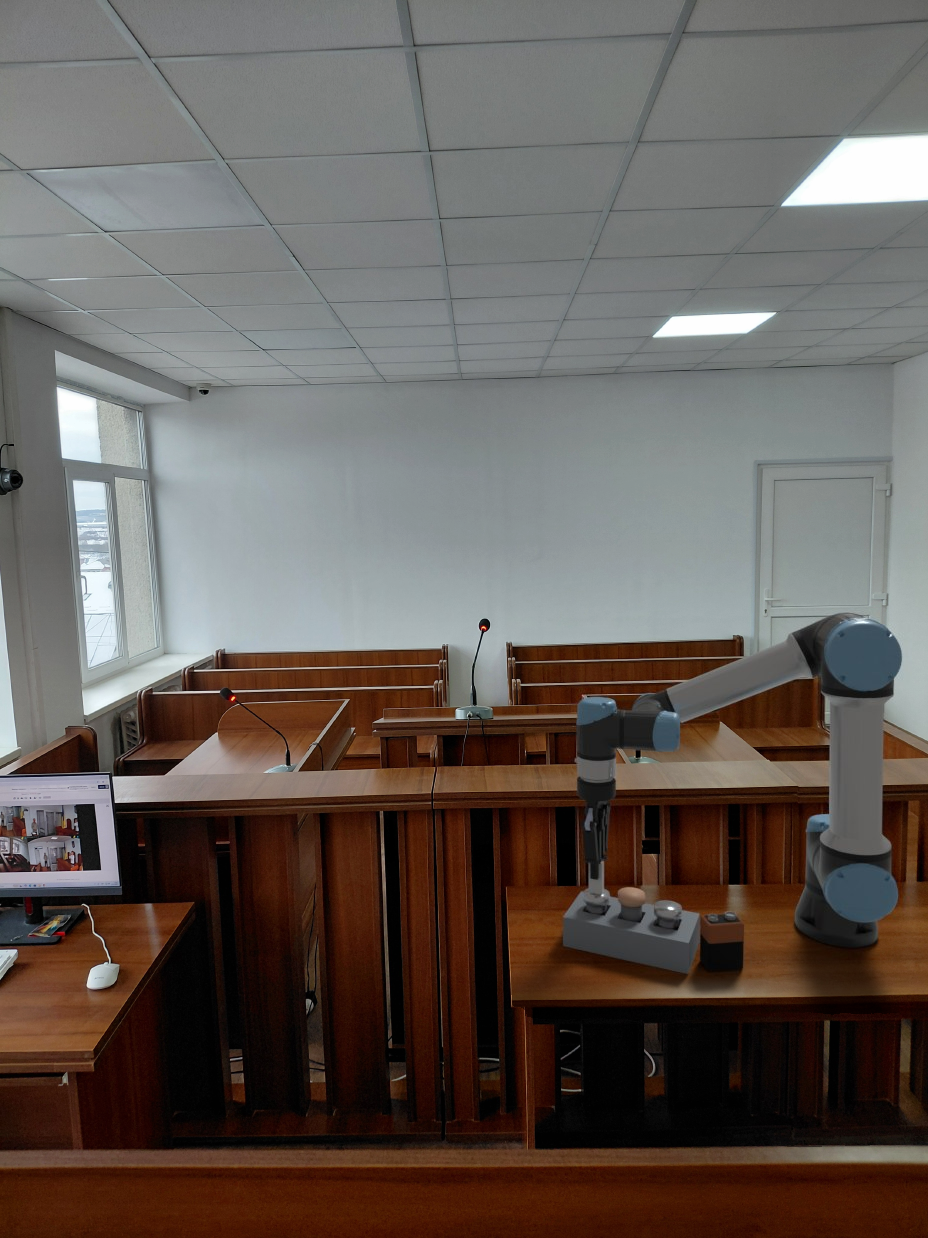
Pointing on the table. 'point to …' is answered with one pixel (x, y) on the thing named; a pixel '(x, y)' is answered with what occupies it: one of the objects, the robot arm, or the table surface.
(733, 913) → the battery
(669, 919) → the plunger
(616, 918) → the console
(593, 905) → the plunger
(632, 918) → the plunger mid
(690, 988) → the table surface
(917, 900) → the table surface
